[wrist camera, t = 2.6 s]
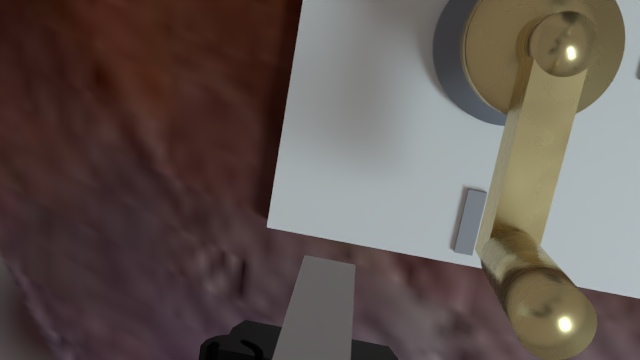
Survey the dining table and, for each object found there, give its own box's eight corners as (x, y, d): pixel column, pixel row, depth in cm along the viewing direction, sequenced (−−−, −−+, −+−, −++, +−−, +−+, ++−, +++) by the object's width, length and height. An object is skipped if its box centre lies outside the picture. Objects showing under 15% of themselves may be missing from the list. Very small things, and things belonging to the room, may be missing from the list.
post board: (343, -235, 30) (338, -291, 25) (791, -165, 29) (877, -209, 24) (270, 221, 35) (253, 248, 30) (648, 293, 34) (694, 333, 29)
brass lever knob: (477, -41, 26) (548, -103, 16) (624, -16, 26) (795, -63, 16) (416, 236, 29) (443, 339, 19) (548, 261, 29) (650, 380, 18)
